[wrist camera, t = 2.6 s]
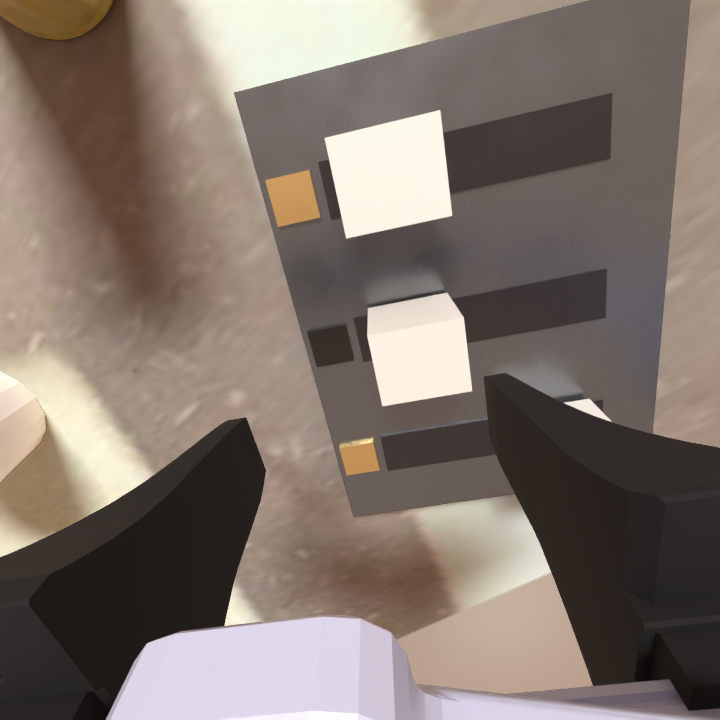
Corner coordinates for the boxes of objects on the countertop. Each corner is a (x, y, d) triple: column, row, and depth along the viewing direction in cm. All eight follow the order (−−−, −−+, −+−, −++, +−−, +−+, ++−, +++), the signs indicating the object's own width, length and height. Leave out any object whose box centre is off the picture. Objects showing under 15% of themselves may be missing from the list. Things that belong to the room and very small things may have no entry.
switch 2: (447, 292, 18) (464, 317, 15) (455, 355, 19) (472, 391, 16) (367, 308, 18) (367, 336, 15) (380, 368, 19) (382, 406, 16)
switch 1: (425, 124, 15) (440, 110, 12) (436, 208, 16) (452, 215, 13) (333, 145, 16) (324, 138, 12) (350, 226, 17) (346, 238, 14)
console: (654, -3, 15) (697, -30, 13) (627, 451, 24) (651, 477, 22) (248, 101, 17) (232, 91, 15) (354, 492, 25) (353, 519, 23)
